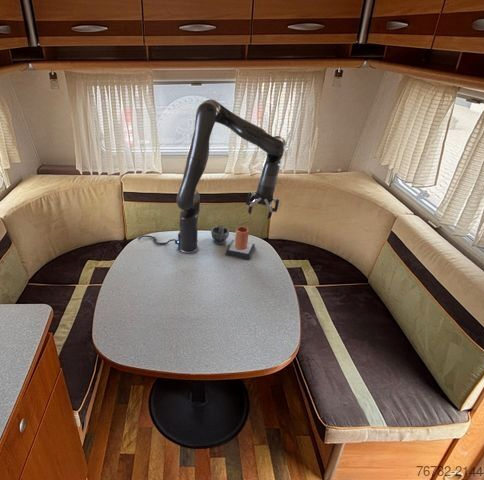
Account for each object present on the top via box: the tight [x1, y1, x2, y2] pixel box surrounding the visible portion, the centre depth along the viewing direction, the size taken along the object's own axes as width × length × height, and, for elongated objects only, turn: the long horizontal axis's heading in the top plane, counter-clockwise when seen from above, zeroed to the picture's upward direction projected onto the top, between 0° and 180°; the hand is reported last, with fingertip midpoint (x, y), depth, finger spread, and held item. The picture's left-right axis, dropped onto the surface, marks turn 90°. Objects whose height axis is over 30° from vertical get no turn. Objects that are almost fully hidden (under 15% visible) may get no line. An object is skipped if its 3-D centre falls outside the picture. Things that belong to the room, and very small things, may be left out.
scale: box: [225, 239, 256, 261], centre depth 185 cm, size 12×12×3 cm
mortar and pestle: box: [210, 225, 230, 245], centre depth 191 cm, size 11×9×12 cm
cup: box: [234, 226, 250, 250], centre depth 181 cm, size 6×6×10 cm
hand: (259, 215), depth 164 cm, fingers open, 8 cm apart
